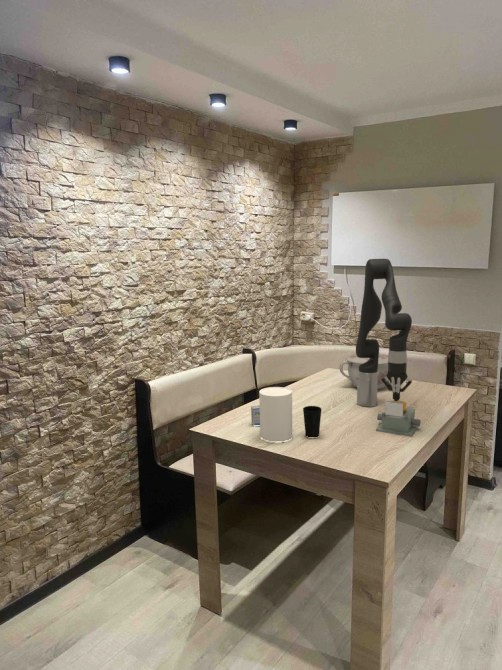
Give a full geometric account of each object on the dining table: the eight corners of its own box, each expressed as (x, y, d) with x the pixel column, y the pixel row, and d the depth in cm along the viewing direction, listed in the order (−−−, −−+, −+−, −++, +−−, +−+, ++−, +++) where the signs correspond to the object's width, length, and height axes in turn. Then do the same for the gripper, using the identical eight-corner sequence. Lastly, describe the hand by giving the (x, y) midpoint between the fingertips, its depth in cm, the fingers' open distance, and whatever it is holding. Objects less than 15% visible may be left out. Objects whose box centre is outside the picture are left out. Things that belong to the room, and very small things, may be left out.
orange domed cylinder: (389, 425, 217) (390, 403, 215) (392, 421, 222) (393, 400, 220) (404, 428, 214) (404, 405, 212) (407, 423, 219) (407, 401, 217)
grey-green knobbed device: (372, 430, 214) (372, 412, 213) (382, 417, 230) (383, 401, 229) (415, 437, 206) (416, 418, 205) (423, 423, 221) (424, 406, 220)
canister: (286, 445, 200) (286, 397, 197) (255, 441, 205) (254, 394, 202) (296, 433, 213) (296, 388, 209) (266, 430, 218) (265, 385, 214)
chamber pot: (400, 384, 286) (401, 348, 283) (387, 396, 263) (388, 358, 260) (353, 378, 301) (353, 345, 297) (337, 390, 277) (337, 353, 274)
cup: (309, 431, 215) (309, 404, 213) (324, 435, 210) (324, 407, 208) (299, 436, 209) (299, 409, 207) (315, 440, 204) (315, 412, 202)
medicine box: (253, 427, 222) (253, 408, 220) (251, 424, 226) (250, 405, 224) (270, 425, 224) (270, 406, 222) (267, 422, 228) (267, 403, 227)
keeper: (385, 417, 211) (385, 401, 208) (386, 415, 212) (385, 400, 209) (402, 419, 208) (402, 404, 205) (403, 418, 209) (402, 402, 206)
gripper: (379, 361, 208) (378, 401, 211) (411, 363, 202) (410, 405, 204) (383, 357, 214) (382, 396, 217) (415, 360, 208) (414, 400, 211)
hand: (396, 400), depth 211 cm, fingers closed
